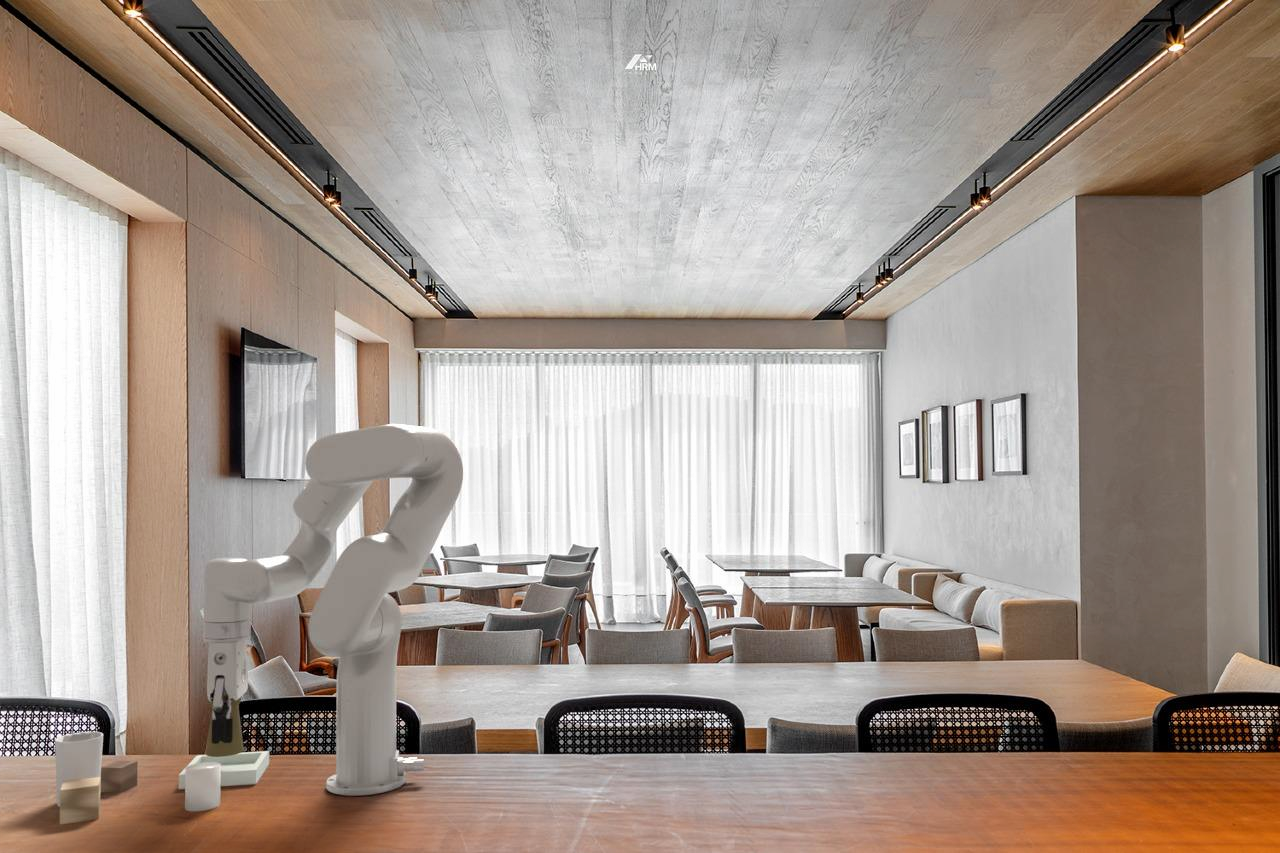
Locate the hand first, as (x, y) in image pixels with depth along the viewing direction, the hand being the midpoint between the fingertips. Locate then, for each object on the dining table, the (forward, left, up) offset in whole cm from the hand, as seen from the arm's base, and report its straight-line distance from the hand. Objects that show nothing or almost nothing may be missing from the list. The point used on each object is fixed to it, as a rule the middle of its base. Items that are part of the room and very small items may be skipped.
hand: (225, 738), depth 169 cm
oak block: (+17, +17, -6) cm, 25 cm away
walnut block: (+16, +3, -6) cm, 17 cm away
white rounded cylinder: (0, +16, -6) cm, 17 cm away
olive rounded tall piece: (0, 0, -2) cm, 3 cm away
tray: (0, 0, -6) cm, 6 cm away
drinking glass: (+20, +9, -7) cm, 23 cm away
